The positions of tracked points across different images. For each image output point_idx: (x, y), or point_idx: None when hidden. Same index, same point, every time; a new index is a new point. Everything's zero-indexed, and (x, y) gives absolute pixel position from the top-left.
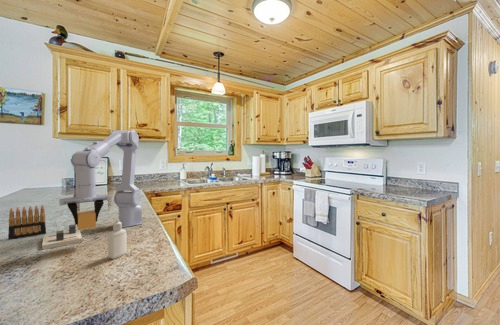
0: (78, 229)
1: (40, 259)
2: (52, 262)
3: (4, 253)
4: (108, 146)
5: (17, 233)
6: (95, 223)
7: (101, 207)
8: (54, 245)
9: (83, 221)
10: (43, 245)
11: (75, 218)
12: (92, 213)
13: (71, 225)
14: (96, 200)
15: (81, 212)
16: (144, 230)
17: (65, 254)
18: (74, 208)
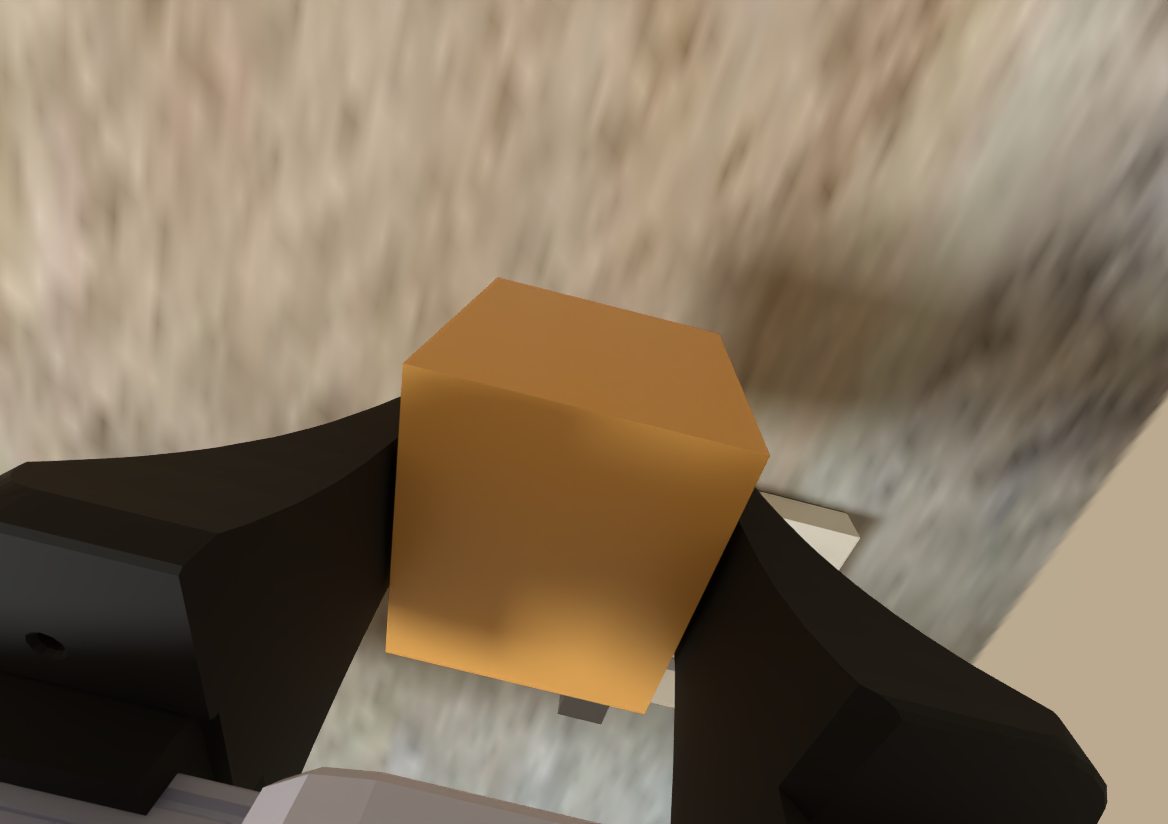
0: (716, 336)
1: (976, 305)
2: (981, 118)
3: (999, 626)
4: None
5: None
6: (486, 293)
7: (178, 455)
8: (776, 505)
9: (658, 361)
10: (850, 534)
11: (752, 498)
12: (472, 385)
13: (589, 706)
14: (115, 789)
15: (605, 634)
16: (71, 302)
17: (808, 249)
18: (890, 662)
